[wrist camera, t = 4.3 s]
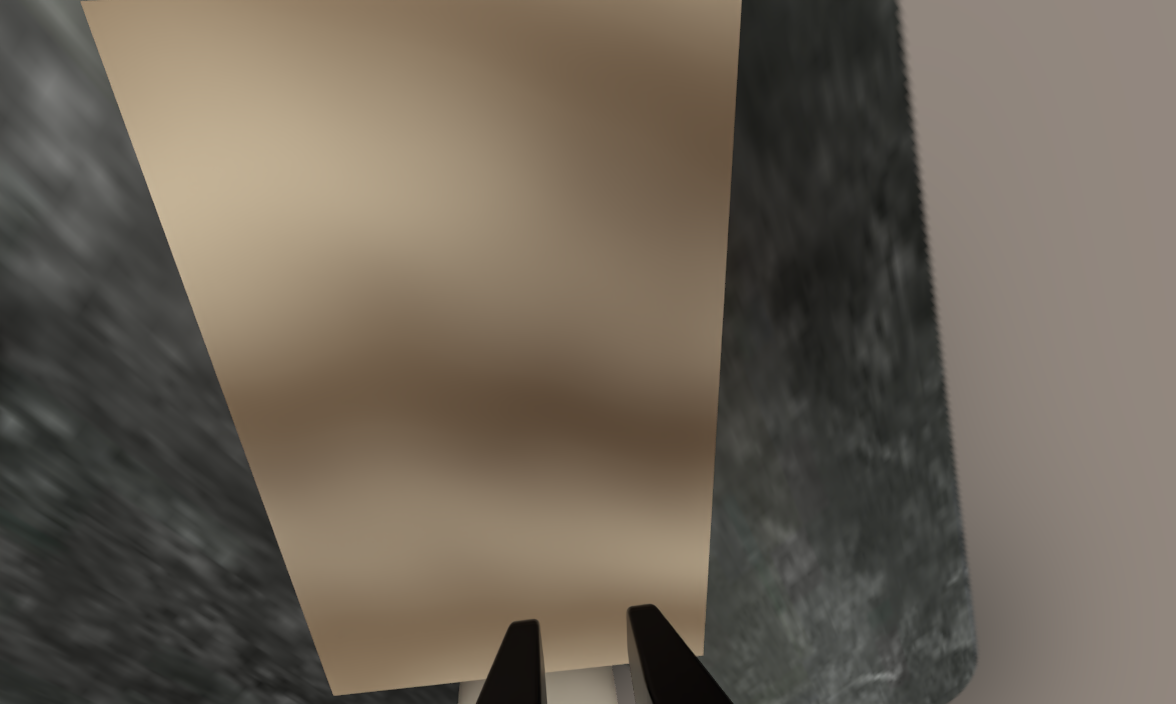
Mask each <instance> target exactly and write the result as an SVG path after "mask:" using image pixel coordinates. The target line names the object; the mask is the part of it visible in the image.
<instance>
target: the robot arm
mask: <svg viewBox="0 0 1176 704" xmlns="http://www.w3.org/2000/svg"><path fill="white" fill-rule="evenodd" d="M626 620H627V649H628V658H629V665H630V671H631V677H632V684H633V690H634V696H635V702H636V704H733V702H732V701H731V700H730V699H729V697H728V696H727V695H726V694H725V692H724V691H723V690H722V688H721V687H720V686H719V685H718V683H717V682H716V681H715V680H714V678H713V677H712V676H711V675H710V673H709V672H708V671H707V669H706V668H705V667H704V666H703V664H702V663H701V662H700V661H699V659H698V658H697V657H696V656H695V654H694V653H693V652H692V651H691V649H690V648H689V647H688V645H687V644H686V643H685V642H684V640H683V639H682V638H681V637H680V635H679V634H678V633H677V632H676V630H675V629H674V628H673V626H672V625H671V624H670V623H669V621H668V620H667V619H666V618H665V616H664V615H663V614H662V613H661V611H660V610H659V609H658V608H657V607H656V606H655V605H653V604H643V605H635V606H630V607H629V608H628V609H627V612H626ZM476 704H547V693H546V679H545V665H544V655H543V647H542V638H541V630H540V623H539V621H538V620H537V619H527V620H519V621H514V622H512V623H511V624H510V625H509V627H508V629H507V631H506V633H505V636H504V638H503V640H502V643H501V645H500V647H499V650H498V652H497V654H496V657H495V659H494V661H493V664H492V666H491V668H490V671H489V673H488V675H487V678H486V680H485V683H484V685H483V687H482V690H481V692H480V694H479V697H478V699H477V701H476Z"/></svg>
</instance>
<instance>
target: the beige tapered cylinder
mask: <svg viewBox="0 0 1176 704" xmlns="http://www.w3.org/2000/svg"><path fill="white" fill-rule="evenodd" d="M545 679H546V693H547V704H618V699H617V693H616V687H615V682H614V675H613V669H612V665H611V666H601V667H592V668H583V669H574V670H565V671H555V672H546V673H545ZM485 680H486V679H482V680H473V681H464V682H460V687H459V699H458V704H476V701H477V699H478V697H479V694H480V692H481V690H482V687H483V685H484V683H485Z"/></svg>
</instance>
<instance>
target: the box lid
mask: <svg viewBox="0 0 1176 704" xmlns="http://www.w3.org/2000/svg"><path fill="white" fill-rule="evenodd" d="M80 2H81V4H82V7H83V10H84V13H85V15H86V18H87V21H88V24H89V26H90V29H91V32H92V35H93V37H94V40H95V43H96V45H97V48H98V51H99V54H100V56H101V59H102V62H103V65H104V67H105V70H106V73H107V76H108V78H109V81H110V84H111V87H112V89H113V92H114V95H115V98H116V100H117V103H118V106H119V109H120V111H121V114H122V117H123V120H124V122H125V125H126V128H127V131H128V133H129V136H130V139H131V142H132V144H133V147H134V150H135V152H136V155H137V158H138V161H139V163H140V166H141V169H142V172H143V174H144V177H145V180H146V183H147V185H148V188H149V191H150V194H151V196H152V199H153V202H154V205H155V207H156V210H157V213H158V216H159V218H160V221H161V224H162V227H163V229H164V232H165V235H166V238H167V240H168V243H169V246H170V248H171V251H172V254H173V257H174V259H175V262H176V265H177V268H178V270H179V273H180V276H181V279H182V281H183V284H184V287H185V290H186V292H187V295H188V298H189V301H190V303H191V306H192V309H193V312H194V314H195V317H196V320H197V323H198V325H199V328H200V331H201V334H202V336H203V339H204V342H205V345H206V347H207V350H208V353H209V355H210V358H211V361H212V364H213V366H214V369H215V372H216V375H217V377H218V380H219V383H220V386H221V388H222V391H223V394H224V397H225V399H226V402H227V405H228V408H229V410H230V413H231V416H232V419H233V421H234V424H235V427H236V430H237V432H238V435H239V438H240V441H241V443H242V446H243V449H244V452H245V454H246V457H247V460H248V462H249V465H250V468H251V471H252V473H253V476H254V479H255V482H256V484H257V487H258V490H259V493H260V495H261V498H262V501H263V504H264V506H265V509H266V512H267V515H268V517H269V520H270V523H271V526H272V528H273V531H274V534H275V537H276V539H277V542H278V545H279V548H280V550H281V553H282V556H283V558H284V561H285V564H286V567H287V569H288V572H289V575H290V578H291V580H292V583H293V586H294V589H295V591H296V594H297V597H298V600H299V602H300V605H301V608H302V611H303V613H304V616H305V619H306V622H307V624H308V627H309V630H310V633H311V635H312V638H313V641H314V644H315V646H316V649H317V652H318V655H319V657H320V660H321V663H322V665H323V668H324V671H325V674H326V676H327V679H328V682H329V685H330V687H331V690H332V693H333V696H335V695H345V694H354V693H363V692H372V691H381V690H390V689H400V688H409V687H418V686H427V685H436V684H445V683H455V682H464V681H473V680H482V679H486V678H487V675H488V673H489V671H490V668H491V666H492V664H493V661H494V659H495V657H496V654H497V652H498V650H499V647H500V645H501V643H502V640H503V638H504V636H505V633H506V631H507V629H508V627H509V625H510V624H511V623H512V622H514V621H519V620H527V619H537V620H538V621H539V623H540V630H541V638H542V647H543V655H544V665H545V673H546V672H555V671H565V670H574V669H583V668H592V667H601V666H611V665H620V664H629V658H628V649H627V620H626V612H627V609H628V608H629V607H630V606H635V605H643V604H653V605H655V606H656V607H657V608H658V609H659V610H660V611H661V613H662V614H663V615H664V616H665V618H666V619H667V620H668V621H669V623H670V624H671V625H672V626H673V628H674V629H675V630H676V632H677V633H678V634H679V635H680V637H681V638H682V639H683V640H684V642H685V643H686V644H687V645H688V647H689V648H690V649H691V651H692V652H693V653H694V654H695V656H702V655H703V649H704V632H705V615H706V598H707V581H708V564H709V547H710V530H711V513H712V496H713V479H714V462H715V445H716V428H717V411H718V394H719V377H720V360H721V343H722V326H723V309H724V292H725V275H726V258H727V241H728V224H729V207H730V190H731V173H732V156H733V138H734V121H735V104H736V87H737V70H738V53H739V36H740V19H741V2H742V0H100V1H80Z"/></svg>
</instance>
